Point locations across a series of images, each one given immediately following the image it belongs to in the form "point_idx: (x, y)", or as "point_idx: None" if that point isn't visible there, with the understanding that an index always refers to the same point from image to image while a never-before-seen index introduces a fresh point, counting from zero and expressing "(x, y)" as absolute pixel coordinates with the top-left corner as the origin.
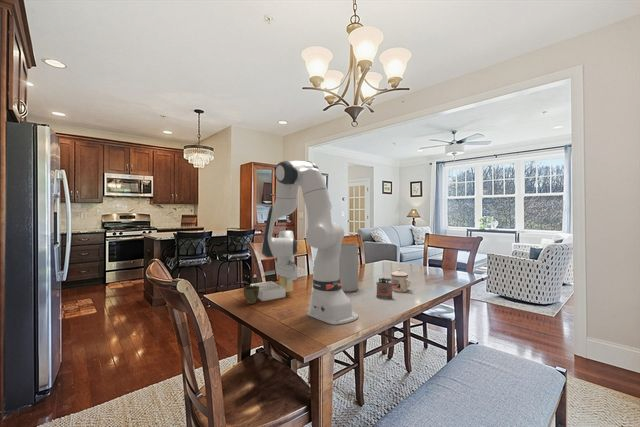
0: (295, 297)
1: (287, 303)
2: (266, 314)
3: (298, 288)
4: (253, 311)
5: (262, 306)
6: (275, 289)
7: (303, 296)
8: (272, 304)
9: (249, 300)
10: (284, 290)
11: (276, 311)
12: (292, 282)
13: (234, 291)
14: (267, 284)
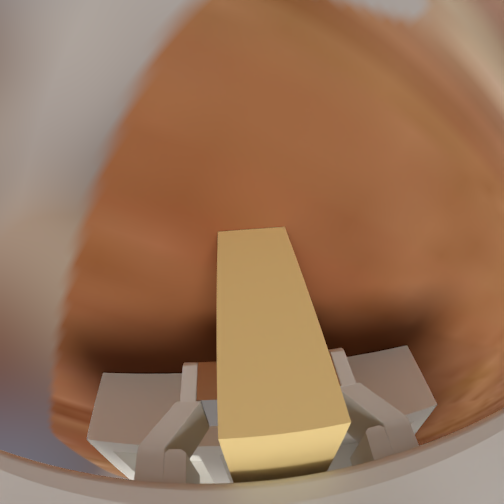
0: (470, 284)
1: (490, 349)
2: (483, 409)
3: (180, 94)
4: (432, 439)
5: (421, 427)
6: None
7: (500, 216)
8: (439, 403)
9: None
10: (426, 394)
11: (497, 387)
12: (314, 323)
13: (116, 471)
14: (212, 476)
